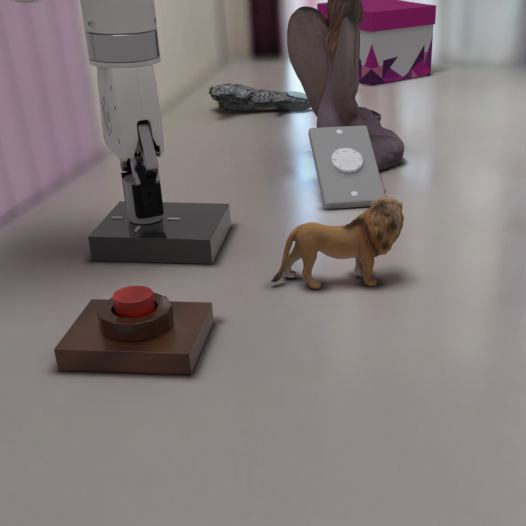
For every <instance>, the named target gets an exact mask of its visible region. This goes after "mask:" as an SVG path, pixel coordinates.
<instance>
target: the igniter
mask: <svg viewBox="0 0 526 526" xmlns="http://www.w3.org/2000/svg"><path fill="white" fill-rule="evenodd" d="M153 295H154V303H155V311H154V312H152V313H151V314H149V315H146V316H142V317H137V318H122V317H119V316H116V314H115V310H114V304H113V297H110V298H109V299H106V298H105V299H103V298H102V299H101V298H99V299H98V298H92V299H90V301H89V302H88V303H87V304H86V306H85V307H84V308H83V309H82V311H81V313H80V314H79V315H78V316H77V318H76V319H75V320H74V322H73V323H72V324H71V326H70V327H69V328H68V330H67V331H66V332H65V334H64V335H63V337H62V338H61V339H60V340H59V342H58V343H57V345H56V346H55V347H54V348H53V351H54V356H55V361H56V365H57V370H58V371H60V372H61V371H64V372H66V371H67V372H90V373H91V372H94V373H96V372H97V373H123V374H124V373H126V374H127V373H128V374H156V375H158V374H159V375H184V376H185V375H186V376H187V375H189V376H190V375H192V374H193V372H194V369H195V367H196V365H197V362H198V361H199V357H200V355H201V353H202V350H203V349H204V346H205V344H206V341H207V340H208V336H209V334H210V332H211V329H212V327H213V325H214V323H215V320H214V310H213V309H214V308H213V302H211V301H210V302H209V301H208V302H207V301H177V300H176V301H171V300H170V299H169V298H168V297H167V296H166V295H164V294H160V293H157V292H155V291H153Z"/></svg>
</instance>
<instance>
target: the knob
mask: <svg viewBox="0 0 526 526" xmlns="http://www.w3.org/2000/svg"><path fill="white" fill-rule="evenodd" d="M123 184H124V190H123V192H124V191H125V197H124V199H125V198H126V206H127V213H128V220H129V221H130V222H131V223H135V224H151V223H155V222H158V221H160V220H161V219H162V217H163V215H161V216H156V217H149V218H143V219H138V218H137V217H136V215H135V208H134V201H133V194H132V186H131V185H133V184H134V180H133V175H132V174H130V175H127V176H125V177H124V178H123V183H122V185H123Z"/></svg>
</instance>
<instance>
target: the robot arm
mask: <svg viewBox="0 0 526 526" xmlns="http://www.w3.org/2000/svg"><path fill="white" fill-rule="evenodd" d="M10 1H12V2H15V3H19V4H33V3H37V2H40V1H42V0H10ZM79 3H80V9H81V15H82V22H83V29H84V35H85V36H84V37H85V42H86V48H87V55H88V62H89V65H90V66H93V67H96V78H97V79H96V80H97V91H98V102H99V110H100V119H101V130H102V136H103V141H104V144H105V145H106V147H107V148H108V149H109V150H110V151H111V152H112V154H114V155H115V156H116V157H117V159H119V165H120V169H121V172H120V177H121V182H122V189H123V197H124V201H125V203H126V198H125V191H124V184H123V178H124V177H125V176H127V175H130V174H132V175H133V180H134V184H133V185H131V186H132V194H133V201H134V208H135V215H136V217H137V218H138V219H143V218H149V217H156V216H161V215H163V213H164V210H163V202H164V201H163V194H162V185H161V177H160V172H159V160H158V158H160V157H162V155H163V154H164V153H165V143H164V132H163V122H162V115H161V107H160V101H159V95H158V87H157V86H158V85H157V82H156V76H155V70H154V65H156V64H158V63H160V62H161V50H160V42H159V41H160V40H159V30H158V23H157V14H156V5H155V0H79Z"/></svg>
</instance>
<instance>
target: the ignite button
mask: <svg viewBox="0 0 526 526" xmlns="http://www.w3.org/2000/svg"><path fill="white" fill-rule="evenodd" d="M153 292H154V291H153V289H151V288H150V287H149V286H144V285H130V286H125V287H121V288H119V289H117V290H116V291H115V292H113V294H112V297H111V298H113V304H114V310H115V314H116V316H119V317H122V318H137V317H142V316H146V315H149V314H151V313H152V312H154V311H155V303H154V295H153Z"/></svg>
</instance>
